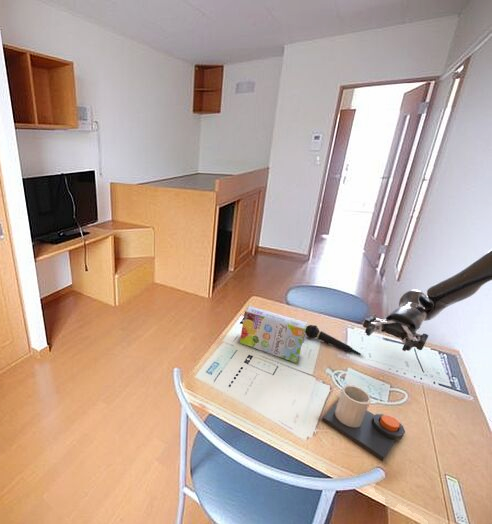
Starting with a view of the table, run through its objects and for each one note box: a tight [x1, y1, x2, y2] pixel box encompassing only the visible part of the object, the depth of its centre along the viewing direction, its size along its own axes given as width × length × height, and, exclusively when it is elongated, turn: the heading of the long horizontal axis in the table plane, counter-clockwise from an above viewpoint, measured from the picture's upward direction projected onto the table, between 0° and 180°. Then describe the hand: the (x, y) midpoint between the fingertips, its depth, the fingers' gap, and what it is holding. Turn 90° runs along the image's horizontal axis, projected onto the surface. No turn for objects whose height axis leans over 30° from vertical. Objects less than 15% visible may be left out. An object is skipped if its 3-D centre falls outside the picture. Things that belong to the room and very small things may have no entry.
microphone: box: [305, 324, 362, 356], centre depth 120 cm, size 6×6×20 cm
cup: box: [335, 384, 372, 428], centre depth 86 cm, size 7×7×9 cm
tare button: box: [380, 414, 401, 432], centre depth 84 cm, size 4×4×2 cm
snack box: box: [239, 305, 308, 364], centre depth 115 cm, size 21×6×15 cm, turn 56°
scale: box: [321, 400, 406, 462], centre depth 86 cm, size 16×14×3 cm
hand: (385, 340), depth 85 cm, fingers open, 8 cm apart
